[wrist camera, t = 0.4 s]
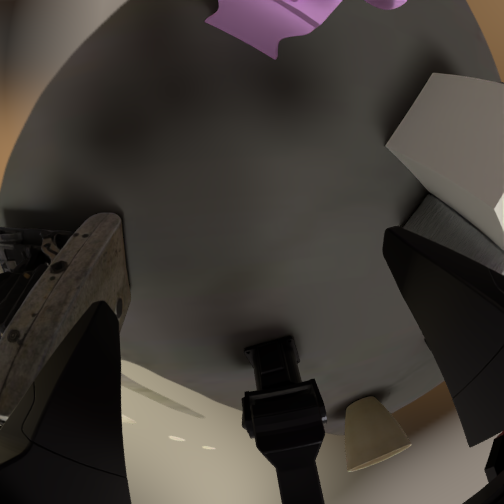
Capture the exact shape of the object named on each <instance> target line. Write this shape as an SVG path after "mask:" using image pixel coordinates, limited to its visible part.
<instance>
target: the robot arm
mask: <svg viewBox="0 0 504 504" xmlns="http://www.w3.org/2000/svg"><path fill="white" fill-rule="evenodd" d="M383 256H384V258H385V260H386V262H387V264H388V266H389V268H390V270H391V273H392V275H393V277H394V279H395V281H396V283H397V286H398V288H399V290H400V292H401V294H402V296H403V298H404V300H405V301H406V303H407V305H408V307H409V309H410V310H411V312H412V314H413V316H414V318H415V320H416V321H417V323H418V325H419V327H420V329H421V331H422V333H423V335H424V337H425V339H426V341H427V343H428V345H429V347H430V349H431V351H432V353H433V355H434V357H435V360H436V362H437V364H438V366H439V368H440V371H441V373H442V375H443V377H444V380H445V382H446V384H447V387H448V389H449V392H450V394H451V396H452V398H453V402H454V405H455V407H456V410H457V413H458V415H459V418H460V421H461V424H462V427H463V430H464V433H465V436H466V439H467V442H468V445H469V447H473V446H475V445H477V444H479V443H481V442H483V441H485V440H487V439H489V438H491V437H493V436H494V435H496V434H498V433H500V432H502V431H503V432H502V433H501V434H499V435H498V436H497V438H495V439H494V442H493V445H492V448H491V452H490V455H489V458H488V461H487V464H486V467H485V473H486V476H487V479H488V482H489V483H488V484H487V485H486V486H485V487H484V488H483V489H481V490H480V491H479V492H477V493H476V494H475V495H473V496H472V497H471V498H469V499H468V500H467V501H466V502H464V503H463V504H504V275H502V274H500V273H498V272H496V271H494V270H493V269H491V268H488V267H487V266H485V265H483V264H481V263H479V262H477V261H475V260H473V259H471V258H469V257H467V256H465V255H463V254H460V253H458V252H456V251H454V250H452V249H450V248H448V247H445V246H443V245H441V244H439V243H437V242H434V241H432V240H430V239H428V238H425V237H423V236H421V235H418V234H416V233H414V232H411V231H409V230H406V229H404V228H401V227H399V226H394V227H390V228H387V229H386V230H385V233H384V241H383ZM244 353H245V355H246V357H247V358H248V360H249V362H250V363H251V365H252V367H253V368H254V374H255V381H256V388H257V391H251V392H249V391H247V392H245V397H243V398H242V407H243V414H242V427H243V428H244V429H246V430H247V432H248V433H249V436H250V438H251V439H252V438H255V442H256V447H257V448H258V450H259V451H260V452H261V453H262V454H263V455H264V456H265V457H266V458H267V459H268V461H269V462H270V463H271V464H272V465H273V466H274V467H275V468H276V472H277V478H278V483H279V489H280V495H281V500H282V504H324V499H323V494H322V489H321V485H320V480H319V476H318V471H317V466H316V462H315V460H316V457H317V455H318V452H319V449H320V447H321V444H322V441H323V438H324V436H325V430H324V426H323V425H324V424H326V423H327V416H326V410H325V406H324V402H323V400H322V397H321V394H320V392H319V389H318V387H317V384H316V381H315V379H310V380H308V381H304V382H302V380H301V377H300V373H299V369H298V365H297V364H298V363H299V362H300V359H299V356H298V353H297V349H296V346H295V343H294V340H293V337H291V336H289V337H286V338H282V339H279V340H275V341H272V342H268V343H264V344H261V345H257V346H253V347H249V348H246V349H244ZM0 504H131V499H130V493H129V487H128V480H127V475H126V466H125V458H124V448H123V435H122V417H121V355H120V335H119V320H118V317H117V316H116V314H115V313H114V312H113V310H112V309H111V308H110V306H109V305H108V304H107V302H106V301H104V300H101V301H96V302H93V303H92V304H91V305H90V307H89V308H88V309H87V310H86V311H85V313H84V314H83V315H82V316H81V318H80V319H79V320H78V321H77V322H76V324H75V325H74V326H73V328H72V329H71V330H70V331H69V333H68V334H67V335H66V337H65V338H64V339H63V340H62V342H61V343H60V344H59V346H58V347H57V348H56V350H55V351H54V352H53V354H52V355H51V357H50V358H49V359H48V361H47V362H46V364H45V365H44V366H43V368H42V369H41V371H40V372H39V374H38V375H37V376H36V378H35V381H33V382H32V384H31V385H30V387H29V388H28V390H27V391H26V393H25V394H24V396H23V397H22V399H21V400H20V402H19V403H18V405H17V406H16V407H15V409H14V410H13V412H12V413H11V415H10V416H9V417H8V419H7V420H6V422H5V423H4V425H3V426H2V428H1V429H0Z"/></svg>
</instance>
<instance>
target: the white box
mask: <svg viewBox="0 0 504 504" xmlns="http://www.w3.org/2000/svg"><path fill="white" fill-rule="evenodd" d="M385 147H386V148H388V149H389V150H390V151H391V152H392V153H393V154H394V155H395V156H396V157H397V158H398V159H399V160H400V161H401V162H402V163H403V164H404V165H405V166H406V167H407V168H408V170H409V171H410V172H411V173H412V174H413V175H414V176H415V177H416V178H417V179H418V180H419V181H420V183H421V184H422V185H423V186H424V187H425V188H426V189H427V190H428V191H429V192H430V193H432V194H433V195H434V196H436V197H437V198H439V199H440V200H442V201H443V202H444V203H446V204H447V205H448V206H450V207H451V208H453V209H454V210H455V211H457V212H458V213H459V214H461V215H462V216H463V217H464V218H466V219H467V220H468V221H469V222H471V223H472V224H473V225H474V226H476V227H477V228H478V229H479V230H480V231H482V232H483V233H484V234H485V235H486V236H488V237H489V238H490V239H491V240H492V241H493V242H494V243H495V244H497V245H498V246H499V247H500V248H501V249H502V250H503V251H504V83H503V82H493V81H488V80H483V79H477V78H472V77H465V76H459V75H451V74H442V73H432V75H431V76H430V78H429V79H428V81H427V83H426V84H425V86H424V87H423V89H422V91H421V92H420V94H419V95H418V97H417V98H416V100H415V102H414V103H413V105H412V106H411V108H410V109H409V111H408V112H407V114H406V115H405V117H404V118H403V120H402V121H401V123H400V124H399V126H398V127H397V129H396V130H395V132H394V133H393V135H392V136H391V138H390V139H389V141H388V142H387V144H386V145H385Z"/></svg>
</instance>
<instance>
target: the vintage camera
mask: <svg viewBox="0 0 504 504" xmlns="http://www.w3.org/2000/svg"><path fill="white" fill-rule="evenodd" d="M0 264H1V266H2V269H3V271H4V273H1V274H0V425H2V426H3V425H4V423H5V422H6V420H7V419H8V417H9V416H10V415H11V413H12V412H13V410H14V409H15V407H16V406H17V405H18V403H19V402H20V400H21V399H22V397H23V396H24V394H25V393H26V391H27V390H28V388H29V387H30V385H31V384H32V382H33V381H35V378H36V376H37V375H38V374H39V372H40V371H41V369H42V368H43V366H44V365H45V364H46V362H47V361H48V359H49V358H50V357H51V355H52V354H53V352H54V351H55V350H56V348H57V347H58V346H59V344H60V343H61V342H62V340H63V339H64V338H65V337H66V335H67V334H68V333H69V331H70V330H71V329H72V328H73V326H74V325H75V324H76V322H77V321H78V320H79V319H80V318H81V316H82V315H83V314H84V313H85V311H86V310H87V309H88V308H89V307H90V305H91V304H92V303H93V302H96V301H101V300H104V301H106V302H107V304H108V305H109V306H110V308H111V309H112V310H113V312H114V313H115V314H116V316H117V317H118V320H119V334H120V331H121V328H122V325H123V322H124V319H125V316H126V313H127V310H128V307H129V304H130V301H131V294H130V288H129V282H128V274H127V270H126V260H125V251H124V242H123V232H122V221H121V218H120V217H119V216H118V215H117V214H115V213H108V212H105V213H98V214H95V215H93V216H91V217H89V218H88V219H87V220H86V221H84V223H83V224H82V225H81V226H80V227H79V228H78V229H77V230H76V232H71V231H60V230H55V231H50V230H45V229H34V228H10V227H0ZM2 426H0V429H1V428H2Z"/></svg>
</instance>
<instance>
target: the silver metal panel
mask: <svg viewBox="0 0 504 504" xmlns="http://www.w3.org/2000/svg"><path fill="white" fill-rule="evenodd" d="M403 228H404V229H406V230H409V231H411V232H414V233H416V234H418V235H421V236H423V237H425V238H428V239H430V240H432V241H434V242H437V243H439V244H441V245H443V246H445V247H448V248H450V249H452V250H454V251H456V252H458V253H460V254H463V255H465V256H467V257H469V258H471V259H473V260H475V261H477V262H479V263H481V264H483V265H485V266H487V267H488V268H491V269H493V270H494V271H496V272H498V273H500V274H502V275H504V251H503V250H502V249H501V248H500V247H499V246H498V245H497V244H495V243H494V242H493V241H492V240H491V239H490V238H489V237H488V236H486V235H485V234H484V233H483V232H482V231H480V230H479V229H478V228H477V227H476V226H474V225H473V224H472V223H471V222H469V221H468V220H467V219H466V218H464V217H463V216H462V215H461V214H459V213H458V212H457V211H455V210H454V209H453V208H451V207H450V206H448V205H447V204H446V203H444V202H443V201H442V200H440V199H439V198H437V197H436V196H434V195H433V194H432V196H430V195H429V194H428V195H427V196H426V198H425V199H424V200H423V202H422V203H421V205H420V206H419V207H418V209H417V210H416V211H415V213H414V214H413V215H412V217H411V218H410V219H409V221H408V222H407V223H406V225H405V226H404V227H403Z"/></svg>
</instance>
